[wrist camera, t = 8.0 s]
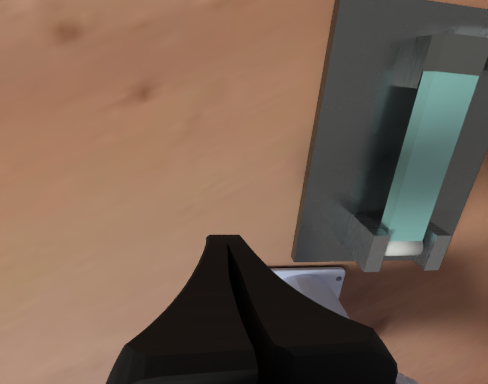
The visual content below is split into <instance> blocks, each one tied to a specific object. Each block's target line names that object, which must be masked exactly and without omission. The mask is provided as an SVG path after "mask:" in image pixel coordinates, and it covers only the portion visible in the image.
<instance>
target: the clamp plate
mask: <svg viewBox="0 0 488 384" xmlns="http://www.w3.org/2000/svg"><path fill="white" fill-rule="evenodd" d="M441 33H454V34H462V35H470V36H477V37H485V38H488V9H481V8H475V7H468V6H461V5H455V4H448V3H441V2H434V1H428V0H335V4H334V9H333V15H332V21H331V27H330V33H329V38H328V44H327V50H326V56H325V62H324V68H323V73H322V79H321V85H320V91H319V97H318V102H317V108H316V114H315V120H314V126H313V132H312V137H311V143H310V149H309V155H308V161H307V166H306V172H305V178H304V184H303V190H302V195H301V201H300V207H299V213H298V219H297V225H296V230H295V236H294V242H293V248H292V254H291V257H292V259H293V261H294V262H330V261H355V262H356V263H357V264H358V266H359V267H360V268H361V269H362V270H363V272H379V271H380V267H381V264H382V261H383V260H413V261H414V262H415V263H416V264H417V265H418V266H420V267H421V268H422V269H423V270H424V271H429V270H439V267H440V265H441V262H442V260H443V258H444V256H445V253H446V251H447V248H448V246H449V243H450V241H451V238H452V236H453V233H454V231H455V228H456V226H457V223H458V221H459V218H460V216H461V213H462V211H463V208H464V206H465V203H466V201H467V198H468V196H469V193H470V191H471V189H472V186H473V184H474V181H475V179H476V176H477V174H478V171H479V169H480V166H481V164H482V161H483V159H484V156H485V154H486V151H487V149H488V57H487V60H486V63H485V66H484V68H483V71H482V74H481V76H479V79H478V81H477V84H476V87H475V90H474V93H473V96H472V99H471V102H470V105H469V107H468V110H467V113H466V116H465V119H464V122H463V125H462V128H461V131H460V134H459V136H458V139H457V142H456V145H455V148H454V151H453V154H452V157H451V160H450V162H449V165H448V168H447V171H446V174H445V177H444V180H443V183H442V186H441V188H440V191H439V194H438V197H437V200H436V203H435V206H434V209H433V212H432V214H431V217H430V220H429V223H428V226H427V229H426V232H425V235H424V238H423V251H422V253H421V254H420V255H408V256H384V255H385V251H386V248H387V245H388V242H389V239H390V235H389V234H388V233H387V232H385V231H384V230H383V229H382V228H381V227H380V225H381V221H382V217H383V214H384V210H385V207H386V203H387V200H388V196H389V192H390V189H391V185H392V182H393V178H394V175H395V171H396V167H397V164H398V160H399V157H400V153H401V150H402V146H403V143H404V139H405V135H406V132H407V128H408V125H409V121H410V118H411V114H412V110H413V107H414V103H415V100H416V96H417V93H418V89H419V85H420V82H421V78H422V75H423V71H422V70H423V67H424V63H425V59H426V56H427V52H428V49H429V45H430V41H431V38H432V35H435V34H441Z"/></svg>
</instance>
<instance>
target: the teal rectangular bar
mask: <svg viewBox="0 0 488 384" xmlns="http://www.w3.org/2000/svg"><path fill="white" fill-rule="evenodd" d="M487 57H488V38H485V37H477V36H470V35H462V34H454V33H441V34H435V35H432V38H431V41H430V45H429V49H428V52H427V56H426V59H425V63H424V67H423V70H422V71H423V75H422V78H421V82H420V85H419V89H418V93H417V96H416V100H415V103H414V107H413V110H412V114H411V118H410V121H409V125H408V128H407V132H406V135H405V139H404V143H403V146H402V150H401V153H400V157H399V160H398V164H397V167H396V171H395V175H394V178H393V182H392V185H391V189H390V192H389V196H388V200H387V203H386V207H385V210H384V214H383V217H382V221H381V225H380V227H381V228H382V229H383V230H384V231H385V232H387V233H388V234H389V235H390V239H389V242H388V245H387V248H386V251H385V255H384V256H408V255H420V254H421V253H422V251H423V238H424V235H425V232H426V229H427V226H428V223H429V220H430V217H431V214H432V212H433V209H434V206H435V203H436V200H437V197H438V194H439V191H440V188H441V186H442V183H443V180H444V177H445V174H446V171H447V168H448V165H449V162H450V160H451V157H452V154H453V151H454V148H455V145H456V142H457V139H458V136H459V134H460V131H461V128H462V125H463V122H464V119H465V116H466V113H467V110H468V107H469V105H470V102H471V99H472V96H473V93H474V90H475V87H476V84H477V81H478V79H479V76H481V74H482V71H483V68H484V66H485V63H486V60H487Z"/></svg>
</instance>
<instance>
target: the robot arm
mask: <svg viewBox="0 0 488 384" xmlns="http://www.w3.org/2000/svg"><path fill="white" fill-rule="evenodd" d="M337 277H339V278H337ZM344 277H345V270H344V269H343V268H342V267H318V268H273V269H270V268H269V267H268V266H267V265H266V264H265V263H264V262H263V261H262V260H261V259H260V258H259V257H258V256H257V255H256V254H255V253H254V252H253V250H252V249H251V248H250V247H249V246H248V245H247V243H246V242H245V241H244V240H243V239H242V237H241V236H240V235H209V236H207V237H206V245H205V248H204V251H203V254H202V256H201V258H200V261H199V263H198V265H197V267H196V269H195V270H194V272H193V274H192V276H191V277H190V279H189V281H188V282H187V284H186V285H185V286H184V288H183V289H182V291H181V292H180V293H179V295H178V296H177V297H176V298H175V299H174V301H173V302H172V303H171V304H170V305H169V306H168V308H167V309H166V310H165V311H164V312H163V313H162V314H161V315H160V316H159V317H158V318H157V319H156V320H155V321H154V322H153V323H152V324H150V325H149V326H148V327H147V328H146V329H145V330H144V331H142V332H141V333H140V334H139V335H137V336H136V337H135V338H134V339H132V340H131V341H130V342H128V343H127V344H126V345H124V347H123V349H122V351H121V353H120V354H119V356H118V358H117V360H116V362H115V364H114V366H113V368H112V370H111V372H110V375H109V377H108V380H107V382H106V384H418V383H417V382H416V381H415V380H414V379H411V378H409V377H405V376H404V375H403V374H401V373H398V369H397V363H396V362H395V360H394V358H393V357H392V355H391V354H390V352H389V351H388V349H387V348H386V346H385V344H384V343H383V341H382V340H381V339H380V337H379V336H378V335H377V333H376V332H375V331H374V330H373V328H370V327H368V326H365V325H363V324H361V323H358V322H356V321H353V320H351V319H350V318H349V316H348V315H347V313H346V311H345V310H344V308H343V306H342V305H341V303H340V302H339V296H340V292H341V288H342V284H343V280H344Z"/></svg>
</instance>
